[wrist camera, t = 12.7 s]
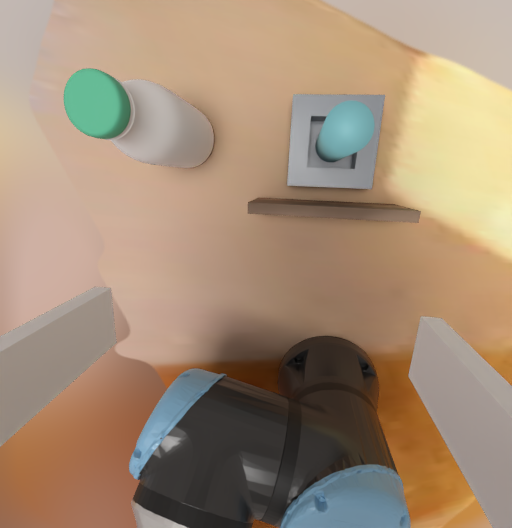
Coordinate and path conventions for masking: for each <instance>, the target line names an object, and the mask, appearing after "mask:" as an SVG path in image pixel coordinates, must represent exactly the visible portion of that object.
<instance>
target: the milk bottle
mask: <svg viewBox="0 0 512 528" xmlns="http://www.w3.org/2000/svg"><path fill="white" fill-rule="evenodd" d="M64 106H65V110H66V113H67V115H68V117H69V119H70V121H71V122H72V123H73V125H74V126H75V127H76V128H77V129H78V130H80V131H81V132H83V133H84V134H86V135H88V136H91V137H95V138H100V139H105V140H111V141H112V142H113V144H114V145H115V146H116V147H117V148H118V149H119V150H120V151H122V152H123V153H124V154H126V155H127V156H129V157H131V158H133V159H135V160H137V161H140V162H143V163H148V164H153V165H161V166H169V167H178V168H193V167H196V166H199V165H201V164H202V163H203V162H205V161H206V159H207V158H208V157H209V155H210V154H211V152H212V149H213V145H214V133H213V129H212V126H211V124H210V122H209V120H208V119H207V117H206V116H205V115H204V114H203V113H202V112H200V111H199V110H198V109H196V108H195V107H194V106H192V105H191V104H189V103H188V102H186V101H185V100H183V99H182V98H180V97H179V96H177V95H176V94H174V93H173V92H171V91H170V90H168V89H166V88H165V87H163V86H161V85H159V84H156V83H154V82H151V81H147V80H140V79H135V80H128V81H124V82H120V81H119V80H117V79H115V78H113V77H112V76H110V75H108V74H106V73H104V72H102V71H100V70H97V69H82V70H79V71H77V72H76V73H74V74H73V75H72V76H71V77H70V79H69V80H68V82H67V84H66V87H65V90H64Z"/></svg>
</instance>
